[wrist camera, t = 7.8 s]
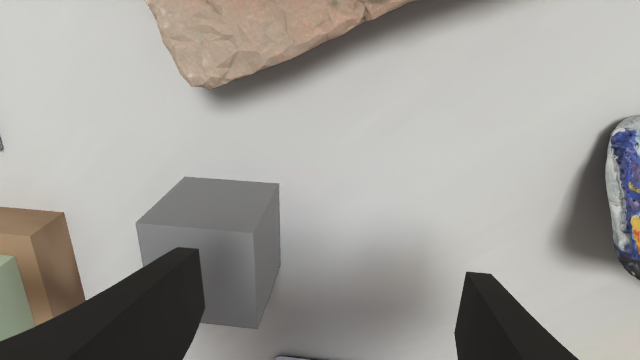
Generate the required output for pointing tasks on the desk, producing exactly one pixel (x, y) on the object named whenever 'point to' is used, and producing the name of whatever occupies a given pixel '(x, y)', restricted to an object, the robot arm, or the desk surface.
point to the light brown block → (42, 260)
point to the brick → (252, 32)
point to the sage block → (13, 300)
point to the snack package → (625, 192)
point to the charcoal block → (221, 242)
